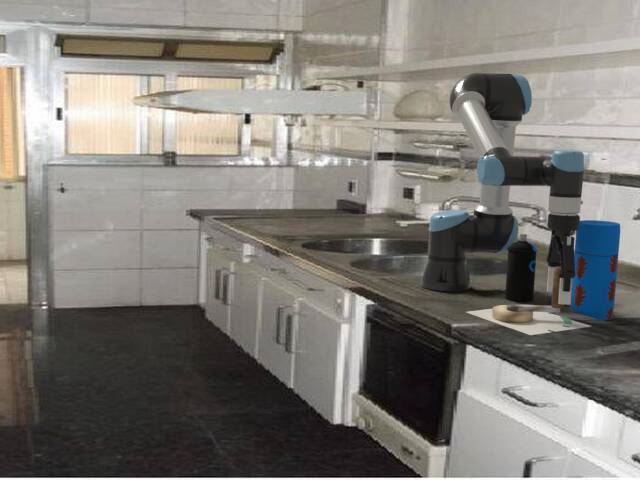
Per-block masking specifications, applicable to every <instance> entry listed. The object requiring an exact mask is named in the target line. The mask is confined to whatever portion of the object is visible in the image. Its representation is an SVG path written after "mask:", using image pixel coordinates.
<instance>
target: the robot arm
mask: <svg viewBox="0 0 640 480" xmlns="http://www.w3.org/2000/svg"><path fill="white" fill-rule="evenodd" d="M532 99H533V96H532V89H531V85H530V83H529V81H528V79H527V78H526V77H525V76H524V75H522V74H521V75H520V74H516V73H515V74H514V73H490V72H485V73H483V72H473V73H469V74H466V75H465V76H464V75H463V77H461V78H460V79H459V80H458V81H457V82H456V83H455V84H454V86H453V87H452V89H451V91H450V95H449V107H450V110H451V112H452V114H453V116H454V117H455V118H456V119H457V120H459V121H460V123H461V124H462V126H463V128H464V130H465V133H466V135H467V136H468V139H469V140H470V143H471V145H472V146H473V149H474V151H475V153H476V156H477V157H478V161H477V163H476V174H477V179H478V182H479V183H480V193H479V194H480V195H479V203H478V204H477V205H475V206H474V208H473V214H469V211H468V210H463V209H456V210H455V209H452V210H450V209H449V210H444V211H443V210H442V211H438V212H435V213H433V214H432V215H431V216H430V219H429V225H428V226H429V227H428V245H427V246H428V247H427V262H426V265H425V266H424V270H423V272H422V276H421V278H420V286H421V287H422V288H424V289H427V290H431V291H432V290H433V291H439V292H440V291H441V292H463V291H468V290H470V289H471V286H472V285H471V284H472V280H471V277H470V273H469V268H468V265H467V254H501V253H508V249H507V248H508V247H509V246H510V245H511V244H512V243H515V242H517V241H518V236H519V221H518V218H517V217H516V216H515V215H513V210H512V208H511V207H510V206H509V201H510V200H509V199H510V191H511V187H512V186H513V187H517V186H518V187H519V186H520V187H549V196H548V212H550V213H549V214H547V229H549V230H551V231H550V232H551V236H550V242H549V246H548V253H547V258H546V262H547V265H548V267H547V268H548V269H547V280H546V281H547V283H546V292H547V293H552V290H553V276H554V267H561V274H560V275H559V278H560V287H559V301H558V304H564V305H569V306H571V290H572V278H573V277H575V258H574V254H575V241H576V237H574V236H571V232H576V231H577V230H578V229H579V224H580V221H581V217H580V215H579V214H580V213H581V205H583V204H584V201H583V200H582V193H583V183H584V171H585V155H584V153H583V152H582V151H579V150H561V149H560V150H554V151H553V152H552V156H550V155H540V156H522V155H519V156H518V155H514V151H515V150H514V149H515V140H516V130H517V126H518V125H519V124H521V122H523V116H526V115H527V114H529V112H530V111H531V107H532V101H533V100H532Z"/></svg>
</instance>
